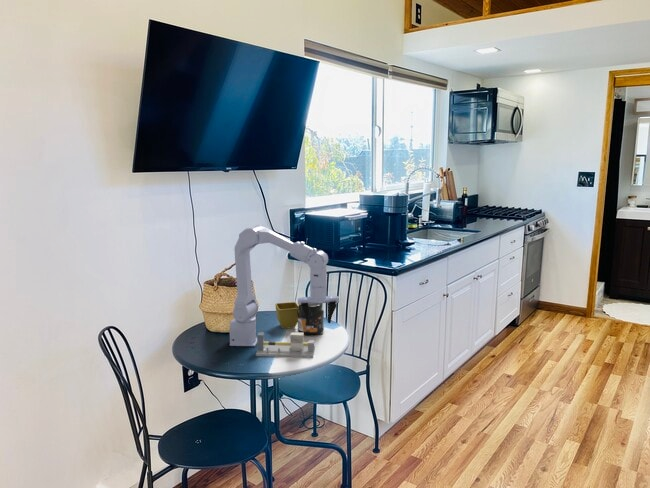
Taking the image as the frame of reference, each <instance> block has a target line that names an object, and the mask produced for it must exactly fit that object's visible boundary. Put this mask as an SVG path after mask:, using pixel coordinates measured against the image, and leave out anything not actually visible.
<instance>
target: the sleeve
mask: <svg viewBox="0 0 650 488" xmlns="http://www.w3.org/2000/svg"><path fill="white" fill-rule="evenodd" d="M289 337H290V341H289V342H291V347H292V351H301V347H303V349H304V346H303V342H305V335H304V332H298V331H296V332H293V331H291V332H290V336H289Z"/></svg>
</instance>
